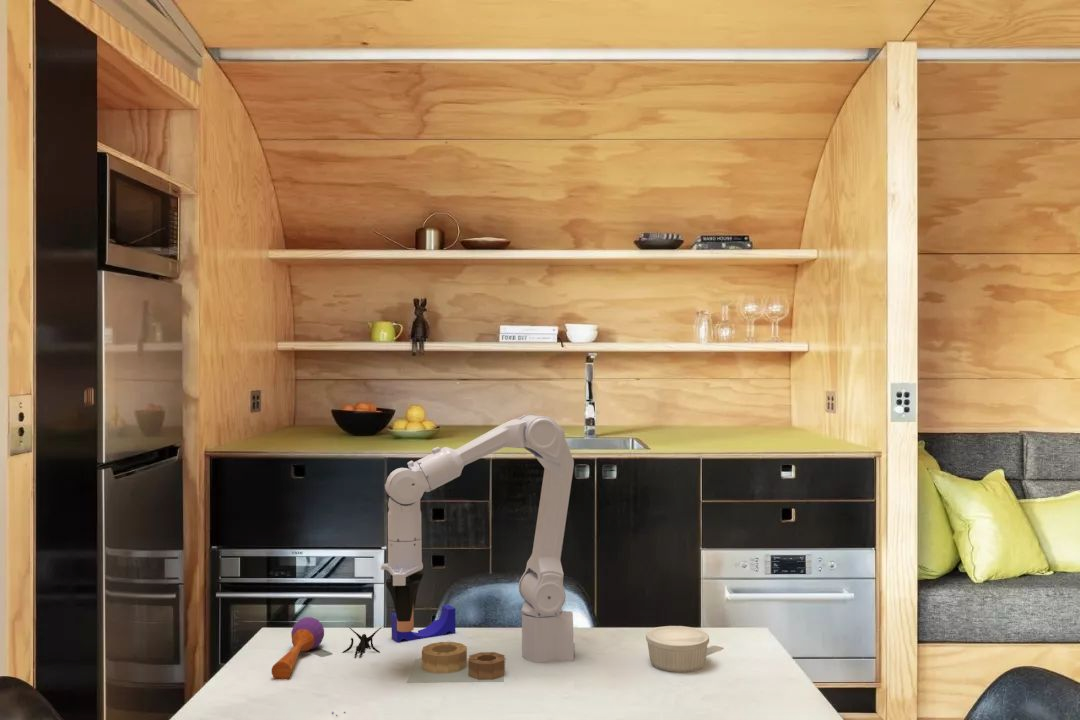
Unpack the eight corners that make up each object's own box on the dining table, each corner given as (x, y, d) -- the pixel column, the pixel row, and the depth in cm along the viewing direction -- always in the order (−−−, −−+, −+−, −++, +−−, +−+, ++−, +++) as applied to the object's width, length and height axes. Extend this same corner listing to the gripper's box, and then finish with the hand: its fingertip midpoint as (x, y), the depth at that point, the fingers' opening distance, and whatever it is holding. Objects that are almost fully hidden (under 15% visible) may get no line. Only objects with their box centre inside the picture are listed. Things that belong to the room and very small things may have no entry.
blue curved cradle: (446, 633, 175) (446, 603, 175) (455, 639, 171) (455, 608, 171) (388, 642, 169) (388, 611, 170) (397, 649, 166) (396, 617, 166)
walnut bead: (504, 667, 151) (504, 652, 151) (503, 679, 145) (503, 663, 145) (470, 667, 151) (470, 652, 151) (467, 679, 145) (467, 663, 145)
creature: (379, 670, 157) (387, 647, 164) (377, 643, 155) (386, 620, 163) (335, 670, 157) (346, 647, 165) (333, 643, 156) (344, 620, 163)
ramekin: (681, 680, 148) (681, 648, 148) (632, 663, 156) (632, 634, 156) (722, 665, 155) (722, 635, 155) (673, 650, 163) (673, 621, 164)
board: (505, 663, 156) (505, 657, 156) (503, 687, 144) (503, 681, 144) (415, 664, 156) (415, 658, 156) (406, 688, 144) (406, 682, 144)
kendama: (260, 657, 149) (293, 615, 169) (267, 691, 149) (300, 645, 169) (294, 651, 149) (323, 610, 168) (302, 684, 149) (330, 639, 169)
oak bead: (467, 658, 156) (467, 641, 156) (464, 673, 148) (464, 655, 148) (425, 659, 156) (425, 642, 156) (419, 673, 148) (419, 655, 148)
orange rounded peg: (414, 627, 152) (414, 586, 152) (412, 631, 149) (412, 590, 149) (398, 627, 152) (398, 586, 152) (395, 632, 149) (395, 590, 149)
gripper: (388, 531, 158) (388, 607, 158) (373, 547, 143) (374, 630, 143) (427, 530, 158) (428, 606, 158) (417, 546, 144) (417, 630, 143)
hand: (405, 618), depth 151 cm, fingers closed on orange rounded peg, 3 cm apart
